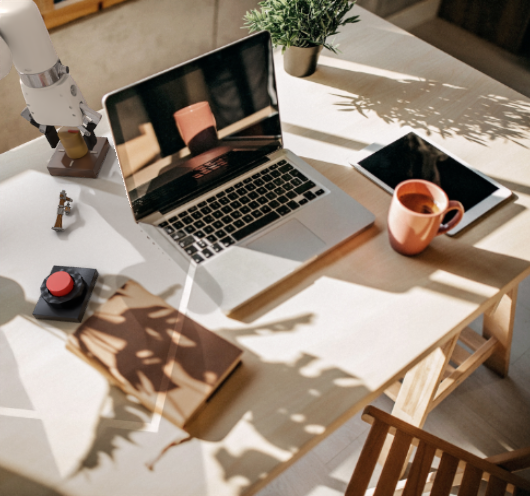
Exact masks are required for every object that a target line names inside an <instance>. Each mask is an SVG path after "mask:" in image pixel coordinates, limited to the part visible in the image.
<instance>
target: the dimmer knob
mask: <svg viewBox="0 0 530 496" xmlns="http://www.w3.org/2000/svg"><path fill="white" fill-rule="evenodd" d="M57 134H58V137H59V139H60V141H61V143H62V145H63V147H64V149H65V152H66V154H67V156H68V157H70V158H73V159H77V158H81V157H83V156H84V155H85V154H86V153H87V151H88V148H87V145H86V143H85V141H84V138H83V133H82V131H80V130H79V129H78V128H77V127H72V126H60V128H59V129H58V130H57ZM60 141H59V142H60Z"/></svg>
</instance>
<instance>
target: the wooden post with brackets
mask: <svg viewBox="0 0 530 496" xmlns="http://www.w3.org/2000/svg"><path fill="white" fill-rule="evenodd" d="M67 194H68V193H67V192H66V190H65V189H62V190H61V191H59V196H58V199H59V203H58V204H57V209H56V219H55V223H54V225H53V226H51V227H50V229H51V230H53V231H56V232H65V228H63V216H64V214H65V215H66V216H68V215H69V214H71V209H72V207H71V206H70V205H71V204H70V203H73V202H74V199H72V197H69V196H67ZM65 203H66V205H65Z"/></svg>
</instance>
